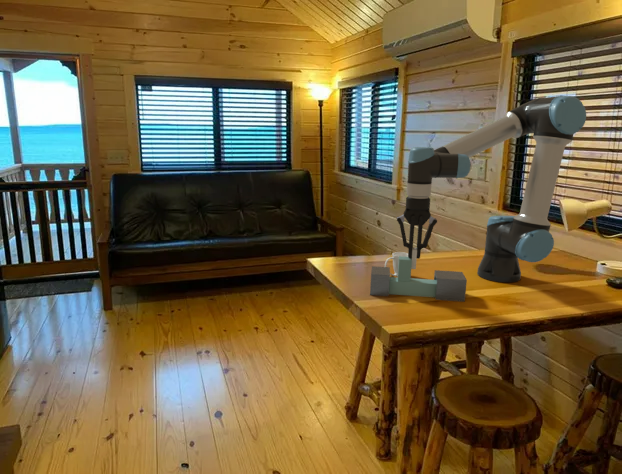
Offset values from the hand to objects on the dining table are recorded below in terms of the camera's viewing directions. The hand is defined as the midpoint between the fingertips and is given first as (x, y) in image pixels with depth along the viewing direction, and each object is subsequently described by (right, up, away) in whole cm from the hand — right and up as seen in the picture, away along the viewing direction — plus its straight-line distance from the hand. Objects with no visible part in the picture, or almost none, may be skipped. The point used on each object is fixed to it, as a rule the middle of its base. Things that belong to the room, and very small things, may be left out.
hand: (413, 267), depth 155 cm
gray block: (+12, -9, 0) cm, 15 cm away
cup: (-2, -4, +21) cm, 22 cm away
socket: (-11, -8, +4) cm, 14 cm away
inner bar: (+1, -9, +2) cm, 9 cm away
